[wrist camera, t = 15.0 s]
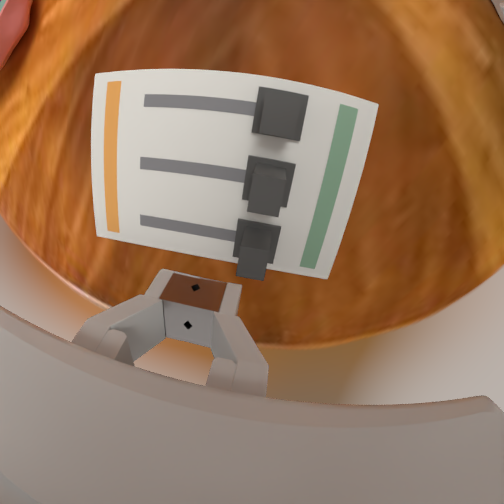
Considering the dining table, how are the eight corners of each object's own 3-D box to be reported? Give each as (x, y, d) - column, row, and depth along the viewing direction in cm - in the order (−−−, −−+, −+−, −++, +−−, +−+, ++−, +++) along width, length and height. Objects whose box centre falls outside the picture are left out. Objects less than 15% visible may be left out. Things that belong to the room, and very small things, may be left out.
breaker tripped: (295, 163, 23) (298, 175, 19) (286, 206, 25) (287, 225, 21) (248, 154, 23) (243, 165, 19) (242, 198, 25) (235, 215, 21)
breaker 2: (281, 226, 26) (281, 247, 22) (272, 262, 28) (271, 287, 24) (238, 218, 26) (231, 238, 22) (233, 255, 28) (226, 278, 24)
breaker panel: (368, 103, 22) (378, 104, 19) (324, 263, 31) (327, 279, 28) (111, 74, 22) (95, 73, 19) (109, 224, 31) (96, 236, 28)
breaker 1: (308, 95, 19) (314, 94, 16) (299, 141, 21) (303, 148, 18) (259, 86, 19) (255, 82, 16) (251, 132, 21) (246, 137, 18)
